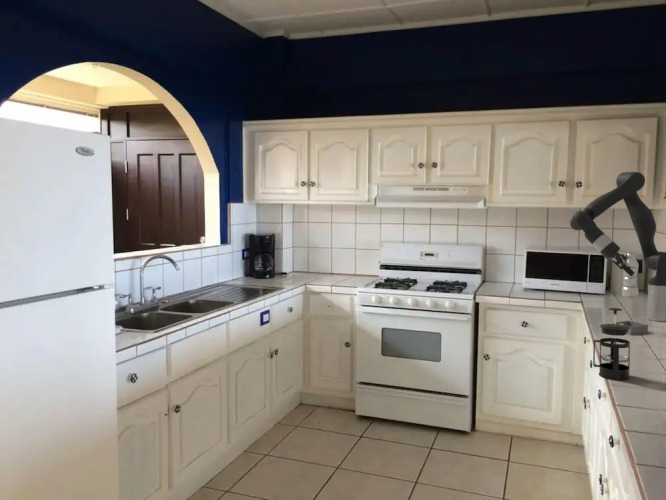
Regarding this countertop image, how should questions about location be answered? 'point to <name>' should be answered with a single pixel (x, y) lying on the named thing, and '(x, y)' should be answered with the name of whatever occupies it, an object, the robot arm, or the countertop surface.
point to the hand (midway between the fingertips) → (634, 273)
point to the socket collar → (634, 327)
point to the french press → (613, 351)
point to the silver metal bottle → (630, 277)
